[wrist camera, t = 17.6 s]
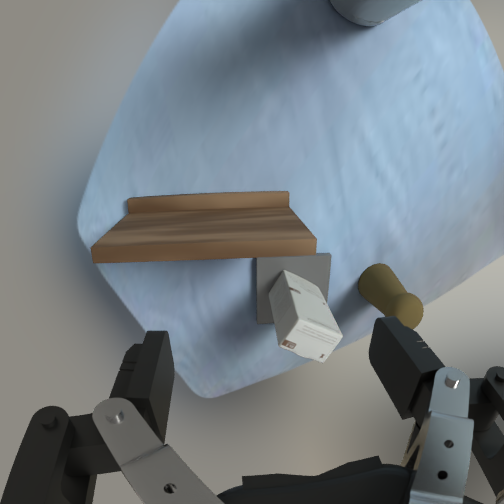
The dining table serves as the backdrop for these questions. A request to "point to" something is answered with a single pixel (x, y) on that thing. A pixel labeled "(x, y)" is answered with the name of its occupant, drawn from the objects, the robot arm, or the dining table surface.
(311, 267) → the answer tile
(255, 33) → the dining table surface
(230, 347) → the dining table surface
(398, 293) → the olive stepped cylinder
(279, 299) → the skincare box
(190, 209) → the walnut screen
